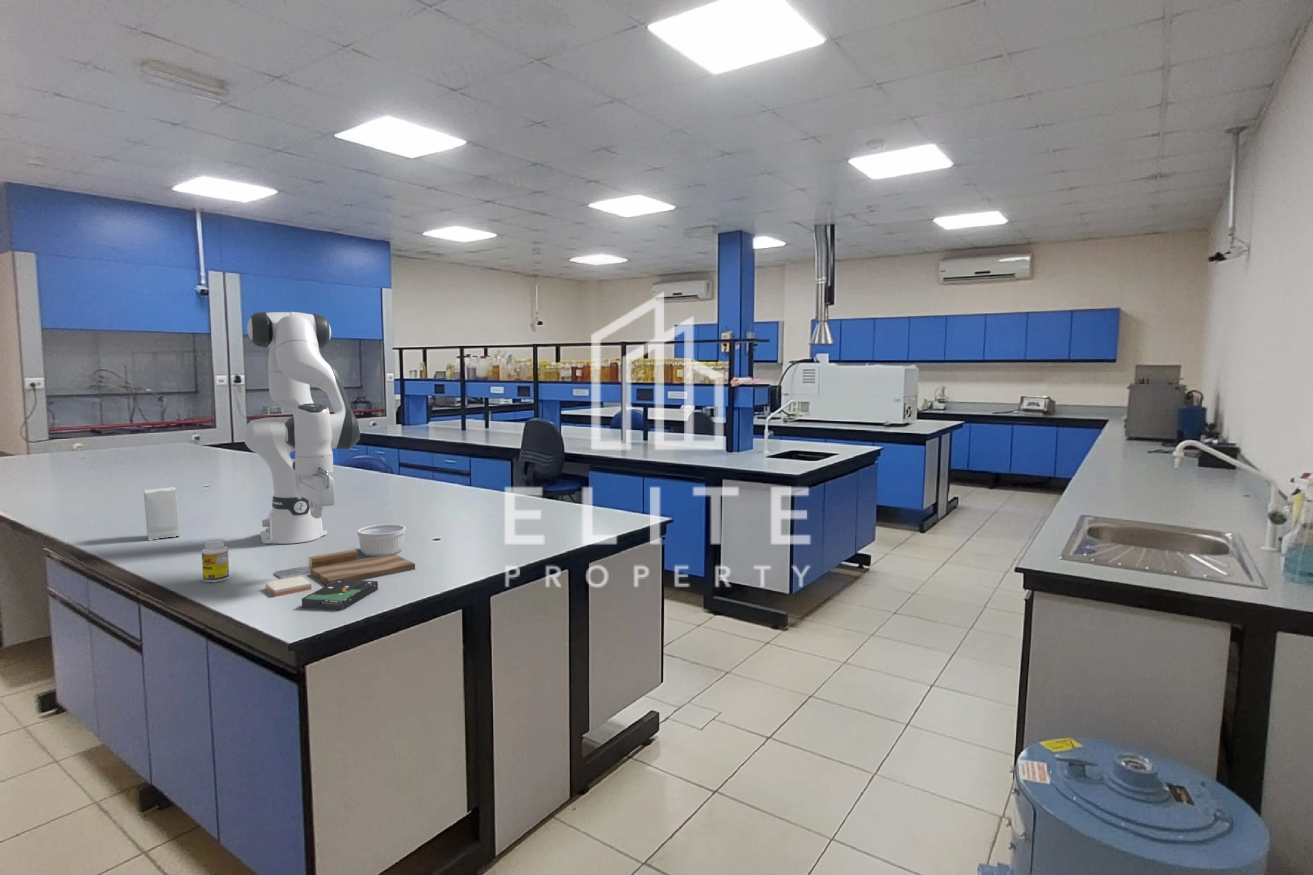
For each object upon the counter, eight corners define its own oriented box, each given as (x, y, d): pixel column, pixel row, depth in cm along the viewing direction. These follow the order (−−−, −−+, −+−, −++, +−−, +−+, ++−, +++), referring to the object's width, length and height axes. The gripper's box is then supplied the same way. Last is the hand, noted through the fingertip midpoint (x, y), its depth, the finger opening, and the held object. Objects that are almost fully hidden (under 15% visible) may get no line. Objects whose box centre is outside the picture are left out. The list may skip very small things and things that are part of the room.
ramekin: (348, 555, 194) (347, 531, 193) (379, 544, 206) (378, 522, 205) (385, 559, 190) (385, 535, 189) (415, 548, 202) (414, 525, 202)
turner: (352, 559, 189) (352, 548, 188) (360, 564, 184) (360, 552, 184) (274, 573, 175) (273, 561, 174) (280, 579, 171) (280, 566, 170)
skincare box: (178, 533, 216) (175, 486, 215) (180, 537, 211) (177, 489, 210) (146, 537, 211) (143, 489, 210) (147, 541, 206) (144, 492, 205)
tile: (265, 582, 162) (274, 590, 157) (300, 576, 168) (311, 583, 162) (265, 590, 163) (275, 598, 157) (301, 583, 168) (311, 591, 163)
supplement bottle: (198, 581, 168) (196, 541, 167) (221, 575, 173) (219, 536, 172) (210, 584, 165) (208, 544, 164) (233, 578, 170) (232, 539, 169)
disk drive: (339, 589, 164) (300, 609, 150) (339, 578, 164) (300, 597, 149) (378, 591, 163) (344, 612, 149) (378, 580, 163) (343, 600, 148)
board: (310, 574, 175) (310, 568, 174) (393, 558, 190) (393, 553, 190) (329, 586, 165) (329, 580, 165) (415, 569, 180) (415, 563, 180)
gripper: (341, 469, 169) (342, 522, 170) (315, 460, 184) (316, 508, 185) (314, 472, 165) (316, 526, 166) (290, 462, 179) (291, 512, 181)
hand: (316, 517), depth 176 cm, fingers closed
